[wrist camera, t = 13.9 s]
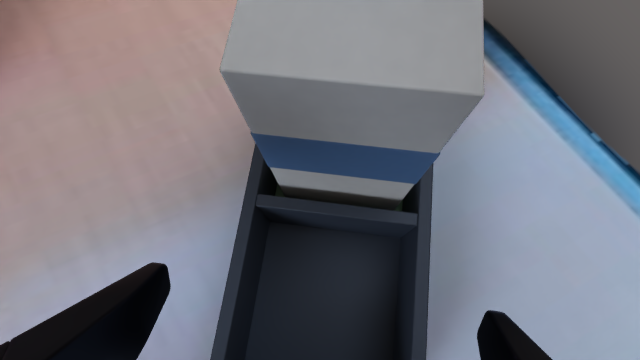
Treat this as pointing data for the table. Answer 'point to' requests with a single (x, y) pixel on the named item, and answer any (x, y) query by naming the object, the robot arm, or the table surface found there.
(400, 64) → the carton
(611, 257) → the table surface
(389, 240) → the caddy
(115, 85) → the table surface
